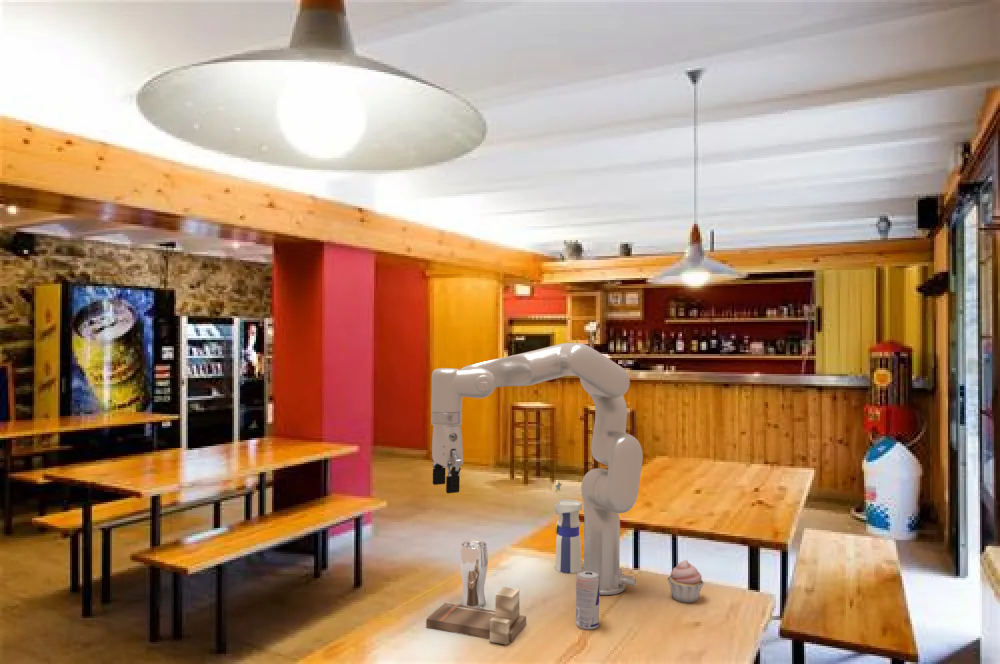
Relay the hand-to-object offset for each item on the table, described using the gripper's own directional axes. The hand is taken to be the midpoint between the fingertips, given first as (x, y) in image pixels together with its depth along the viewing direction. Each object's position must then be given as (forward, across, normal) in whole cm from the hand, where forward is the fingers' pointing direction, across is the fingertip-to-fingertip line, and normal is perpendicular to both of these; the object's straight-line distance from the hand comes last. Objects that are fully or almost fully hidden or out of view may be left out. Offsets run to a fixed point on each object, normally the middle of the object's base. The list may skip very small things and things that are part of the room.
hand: (445, 488), depth 166 cm
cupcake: (+30, -18, -60) cm, 69 cm away
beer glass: (+30, +1, -8) cm, 31 cm away
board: (+30, -11, -4) cm, 32 cm away
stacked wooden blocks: (+30, -18, -8) cm, 36 cm away
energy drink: (+30, -21, -28) cm, 46 cm away
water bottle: (+30, +13, -43) cm, 54 cm away
